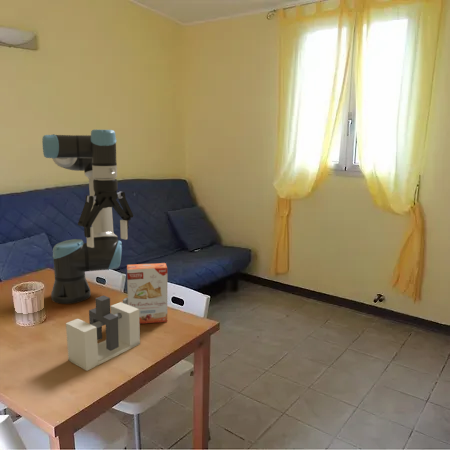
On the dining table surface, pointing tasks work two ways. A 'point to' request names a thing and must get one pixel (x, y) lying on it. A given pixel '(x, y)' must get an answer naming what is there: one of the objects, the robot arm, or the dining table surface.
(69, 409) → the dining table surface
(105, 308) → the grey zigzag block
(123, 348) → the cream rod holder
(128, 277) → the cracker box
